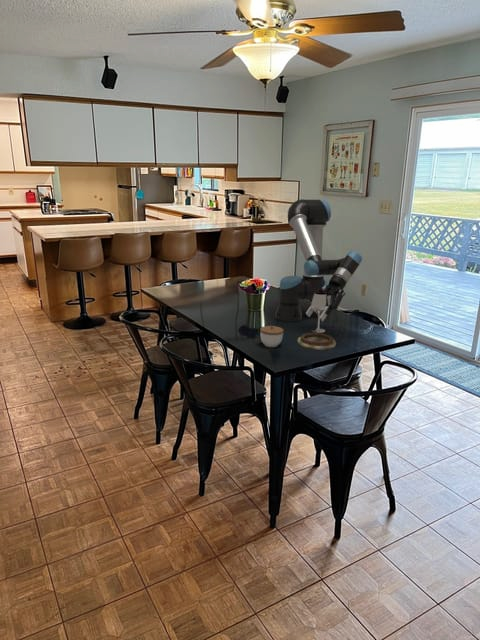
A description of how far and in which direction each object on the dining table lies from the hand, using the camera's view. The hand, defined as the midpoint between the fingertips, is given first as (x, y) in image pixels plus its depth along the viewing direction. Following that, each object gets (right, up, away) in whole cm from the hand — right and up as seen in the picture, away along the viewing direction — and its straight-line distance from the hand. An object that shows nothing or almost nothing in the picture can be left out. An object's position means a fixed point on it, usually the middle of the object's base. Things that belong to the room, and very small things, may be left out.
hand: (314, 317), depth 221 cm
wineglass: (+3, -7, +4) cm, 8 cm away
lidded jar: (-20, -13, +2) cm, 24 cm away
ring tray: (+2, -12, +6) cm, 14 cm away
